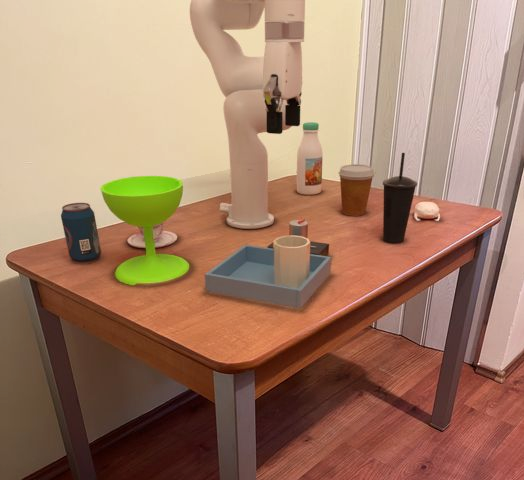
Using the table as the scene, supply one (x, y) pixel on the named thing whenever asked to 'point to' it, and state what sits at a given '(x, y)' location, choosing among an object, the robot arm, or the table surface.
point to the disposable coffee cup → (355, 188)
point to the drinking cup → (397, 205)
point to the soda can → (81, 233)
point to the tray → (263, 277)
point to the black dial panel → (315, 248)
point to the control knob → (298, 228)
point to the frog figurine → (426, 211)
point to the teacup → (159, 236)
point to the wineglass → (146, 224)
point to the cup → (291, 260)
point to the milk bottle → (309, 161)
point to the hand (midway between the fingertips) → (283, 129)
